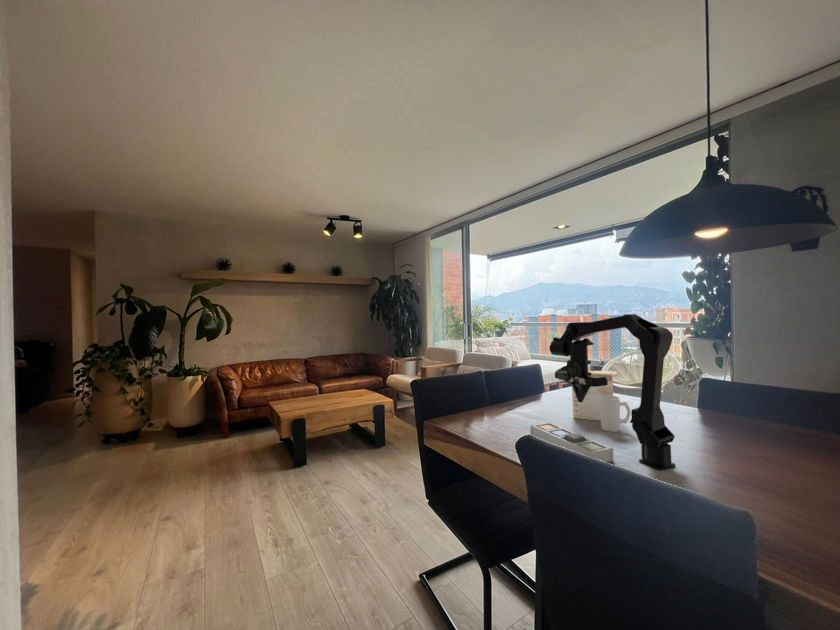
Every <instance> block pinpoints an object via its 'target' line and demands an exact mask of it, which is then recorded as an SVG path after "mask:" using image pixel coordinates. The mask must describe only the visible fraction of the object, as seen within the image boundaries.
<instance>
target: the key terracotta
mask: <svg viewBox="0 0 840 630" xmlns="http://www.w3.org/2000/svg"><path fill="white" fill-rule="evenodd" d="M539 428H540V429H543V430H545V431H546V430H552V429H556V428H555V427H552V426H550V425H544V426H539Z"/></svg>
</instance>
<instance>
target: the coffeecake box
mask: <svg viewBox="0 0 840 630" xmlns="http://www.w3.org/2000/svg"><path fill="white" fill-rule="evenodd" d="M588 372H591V375H590V376H594V375H598V376H604V377H606V378H607V381H608V385H606V386H598V387H592V386H591V387H590V388H589V390H588V392H587V394H586V396H585V398H584V400H583V402H578V399H577V397H576V394H575V392H574V389H573V387H572V386H571V393H572V394H571V395H572V398H571V400H572V418H573V419H579V420H580V419H581V420H589V421H597V422H601V418H600V401H599V396H602V395H610V396H614V386H613V385H614V384H613V382H614V379H613V371H609V370H608V371H607V370H589V369H588Z"/></svg>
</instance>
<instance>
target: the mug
mask: <svg viewBox="0 0 840 630" xmlns="http://www.w3.org/2000/svg"><path fill="white" fill-rule="evenodd" d="M620 399H621V398H620V397H619V396H616V395H613V396H610V395H602V396H599V401H600V418H601V421H600V429H602V430H603V431H605V432H611V433H612V432H613V433H615V432H616V433H618V432H620V430H621V424H627V423H628V422H629V419H630V417H631V408H630V406H629V405H628V402H627V401H620ZM622 406H623V407H625V409H626V411H627V412H626V416H625V418H621V416H620V415H621V410H620V409H621V408H620V407H622Z"/></svg>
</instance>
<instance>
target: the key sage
mask: <svg viewBox="0 0 840 630" xmlns="http://www.w3.org/2000/svg"><path fill="white" fill-rule="evenodd" d="M580 447H582V448H584V449H587V450H589V451H594V450H599V449H602V447H599V446H597V445H594V444H592V443H589V444H584V445H580Z"/></svg>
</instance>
